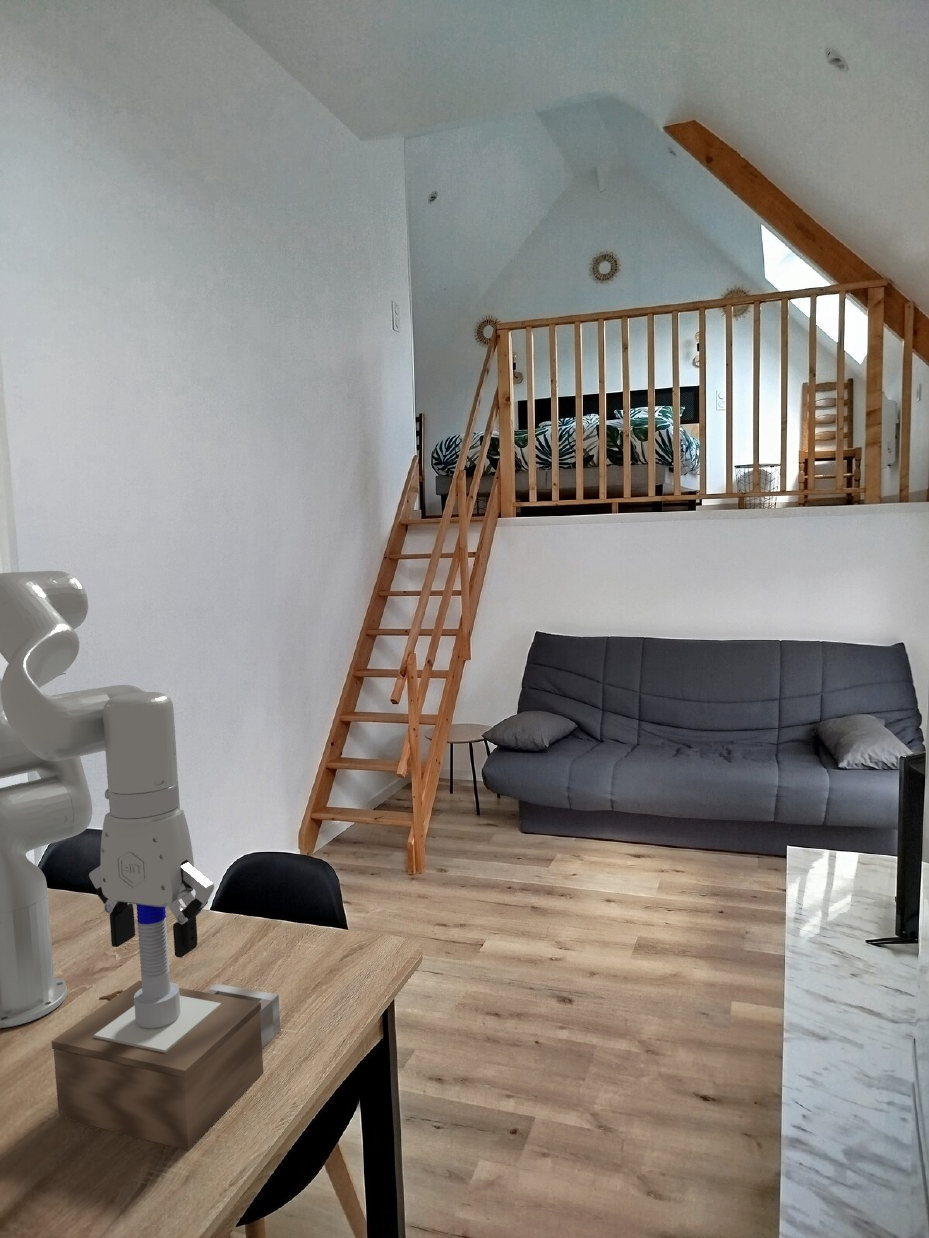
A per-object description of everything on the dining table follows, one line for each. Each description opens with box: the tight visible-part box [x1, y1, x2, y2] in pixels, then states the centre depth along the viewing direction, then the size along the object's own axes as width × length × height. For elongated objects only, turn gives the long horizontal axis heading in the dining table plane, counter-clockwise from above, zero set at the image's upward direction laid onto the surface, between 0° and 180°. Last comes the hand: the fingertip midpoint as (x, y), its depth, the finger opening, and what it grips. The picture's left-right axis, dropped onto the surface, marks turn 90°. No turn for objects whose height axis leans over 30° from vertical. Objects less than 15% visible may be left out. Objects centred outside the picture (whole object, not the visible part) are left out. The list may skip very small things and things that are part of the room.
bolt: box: [134, 904, 181, 1029], centre depth 98 cm, size 16×5×5 cm
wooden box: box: [51, 980, 281, 1151], centre depth 103 cm, size 18×22×9 cm
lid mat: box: [94, 996, 222, 1053], centre depth 99 cm, size 10×10×1 cm
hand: (154, 946), depth 98 cm, fingers open, 8 cm apart
